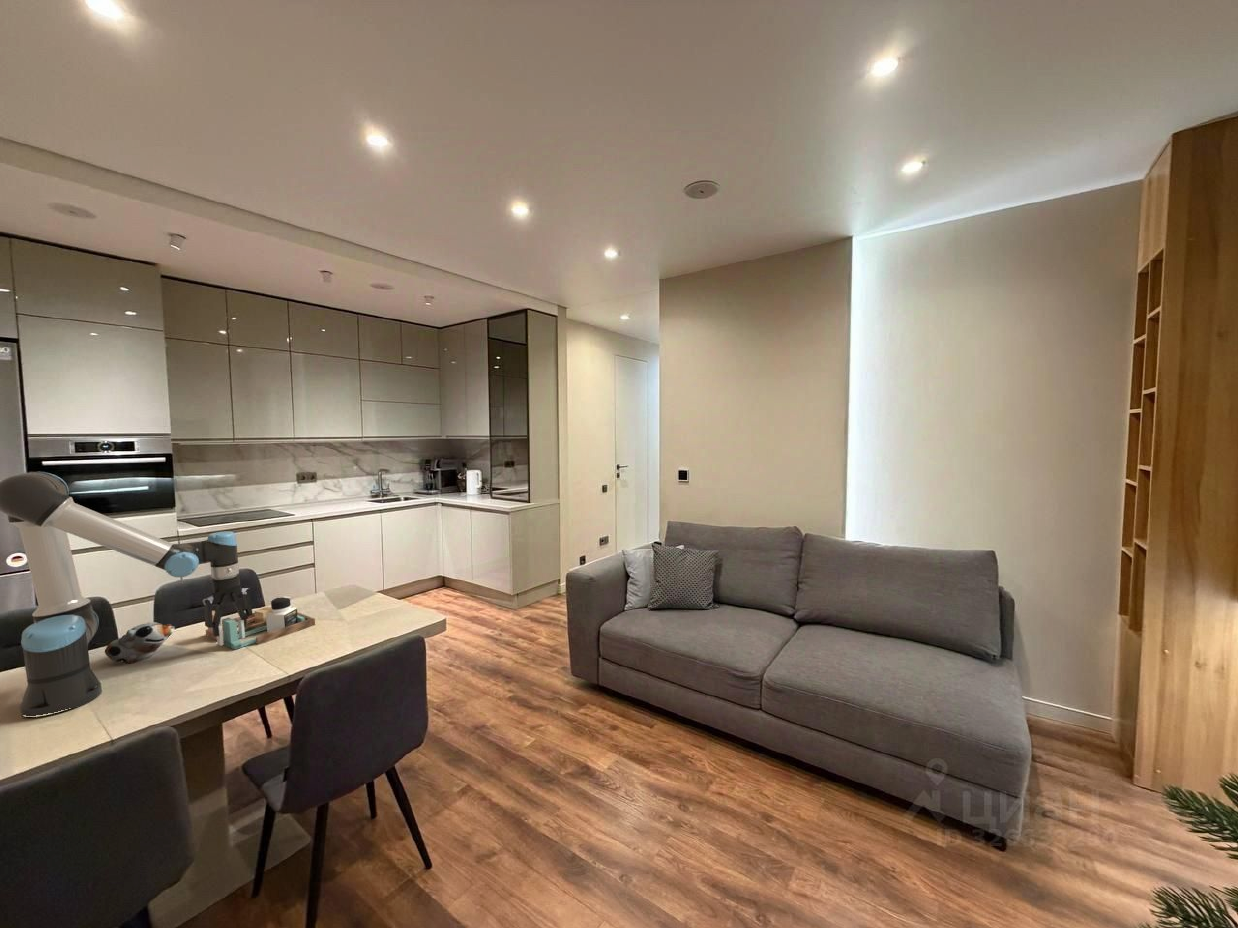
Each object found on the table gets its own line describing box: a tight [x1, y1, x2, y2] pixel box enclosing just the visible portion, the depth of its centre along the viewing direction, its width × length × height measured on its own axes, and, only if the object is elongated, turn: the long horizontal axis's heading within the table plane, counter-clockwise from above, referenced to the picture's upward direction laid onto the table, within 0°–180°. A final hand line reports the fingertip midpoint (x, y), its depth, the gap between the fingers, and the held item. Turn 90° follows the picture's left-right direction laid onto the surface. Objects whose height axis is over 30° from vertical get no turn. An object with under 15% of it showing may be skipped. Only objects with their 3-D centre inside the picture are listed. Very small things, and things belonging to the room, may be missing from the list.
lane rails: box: [232, 611, 316, 645], centre depth 188 cm, size 19×28×2 cm
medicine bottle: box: [266, 596, 298, 633], centre depth 186 cm, size 7×7×12 cm
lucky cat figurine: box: [104, 621, 176, 664], centre depth 166 cm, size 15×12×14 cm
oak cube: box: [254, 606, 272, 624], centre depth 193 cm, size 5×5×5 cm
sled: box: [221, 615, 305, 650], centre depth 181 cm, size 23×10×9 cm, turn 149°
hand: (231, 640), depth 172 cm, fingers open, 6 cm apart
